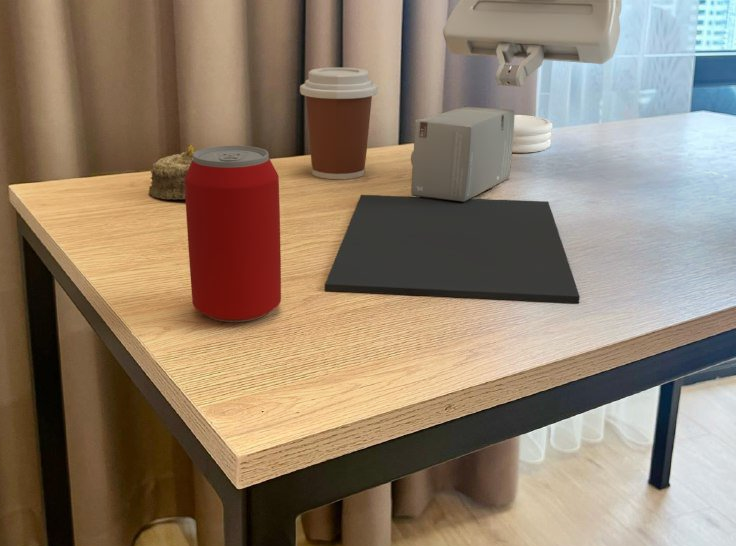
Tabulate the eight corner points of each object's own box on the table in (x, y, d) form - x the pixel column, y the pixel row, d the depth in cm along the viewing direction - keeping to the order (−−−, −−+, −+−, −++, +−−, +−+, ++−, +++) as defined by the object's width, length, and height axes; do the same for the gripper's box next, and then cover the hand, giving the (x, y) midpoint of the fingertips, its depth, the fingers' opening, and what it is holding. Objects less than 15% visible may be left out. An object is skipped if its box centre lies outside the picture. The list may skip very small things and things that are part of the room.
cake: (155, 211, 95) (147, 161, 93) (144, 189, 104) (136, 143, 102) (247, 196, 98) (241, 147, 96) (228, 176, 107) (222, 131, 104)
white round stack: (509, 135, 130) (511, 111, 129) (565, 147, 123) (568, 121, 122) (462, 144, 125) (463, 119, 123) (518, 157, 117) (520, 130, 116)
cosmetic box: (510, 177, 107) (471, 208, 94) (453, 171, 110) (407, 200, 96) (517, 105, 104) (477, 126, 91) (457, 101, 107) (411, 120, 93)
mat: (547, 206, 95) (548, 201, 95) (579, 303, 70) (579, 296, 70) (360, 199, 98) (360, 194, 98) (324, 290, 72) (324, 283, 72)
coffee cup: (356, 185, 104) (358, 78, 99) (287, 176, 107) (285, 73, 102) (387, 168, 111) (390, 69, 106) (321, 161, 115) (321, 64, 110)
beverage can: (282, 293, 72) (279, 143, 67) (281, 326, 65) (277, 163, 61) (197, 294, 71) (187, 143, 67) (188, 328, 65) (177, 164, 60)
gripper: (459, -34, 109) (418, 58, 105) (629, -31, 98) (591, 71, 95) (472, 4, 114) (434, 92, 110) (635, 10, 104) (599, 108, 100)
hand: (508, 82), depth 102 cm, fingers closed
